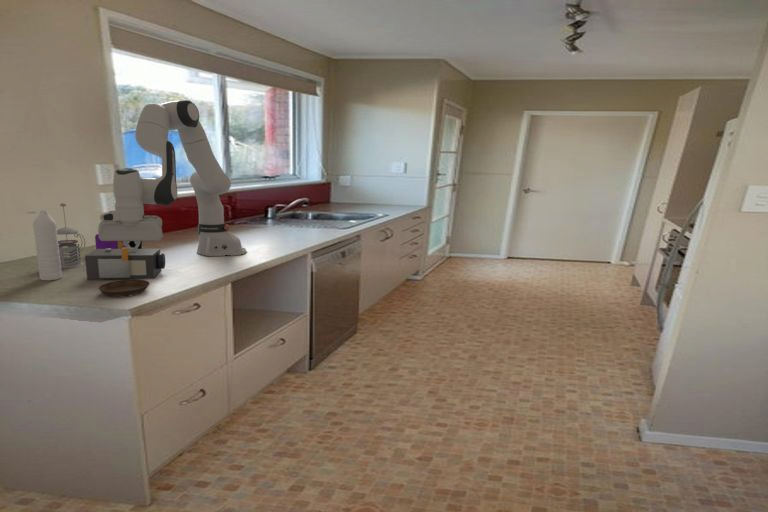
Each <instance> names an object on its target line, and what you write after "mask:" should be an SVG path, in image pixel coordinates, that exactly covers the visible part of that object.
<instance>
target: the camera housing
mask: <svg viewBox="0 0 768 512" xmlns="http://www.w3.org/2000/svg"><path fill="white" fill-rule="evenodd" d="M116 258H122V253H121V249H111V248H107V249H96V248H95V250H93V251H91V252H89V253H87V254H85V255H84V260H85V271H86V279H87V281H96V280H97V279H107V280H151V279H152V280H154V279H155V278H156V277H157V276H158V275H159V274H160V273H161V272H162V270H163V269H165V266H166V254H165V253H163V252H162V253H161V248H142V249H138V253H129V258H130V273H131V277H129V278H99V268H98V259H116ZM95 279H96V280H95Z"/></svg>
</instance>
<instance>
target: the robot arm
mask: <svg viewBox="0 0 768 512" xmlns="http://www.w3.org/2000/svg"><path fill="white" fill-rule="evenodd" d="M137 120H138V121H137V124H136V127H135V136H134V137H135V141H136V142H137V144H138V145H139V147H140V148H141V149H142V150H144V151H145V152H147V153H150V154H151V155H153V156H157V157H159V158H161V176H160V177H154V178H153V177H143V176H141V174H140V171H139V170H138V169H136V168H132V167H131V168H129V167H126V168H118V169H117V170H115V171H114V173H113V181H112V183H113V185H112V186H113V187H112V188H113V190H112V191H113V196H114V198H115V203H114V210H110V211H108V212H107V211H106V212H104V213H102V214H100V216H99V219H100V222H99V224H98V228H97V229H98V230H97V234H98V236H99V239H100V240H101V241H123V244H124V245H125V247H126V248H127V250H128V253H138V246H139V245H140V243H141V242H140V241H142V242H160V241H161V240H163V238H164V233H163V219H162V218H161V217H160V216H158V215H157V214H156V215H149V214H147V215H146V214H145V212H144V211H145V209H144V204H146V205H147V204H148V205H158V206H164V207H165V206H166V207H168V206H169V207H170V205H172V204H174V203H175V202H176V200H177V199H178V186H177V168H176V167H177V165H176V163H177V162H176V151H175V147H174V144H173V143H172V142H171V141H169V132H170V131H177V133H178V136H179V139H180V142H181V145H182V148H183V150H184V153H185V156H186V158H187V160H188V162H189V163H190V164H191V165H192V167H193V168H194V170H195V171H194V172H193V173H192V174H191V176H190V177H189V179H190V180H189V182H190V186H191V187H192V188H193V191H194V195H195V198H196V202H197V207H198V209H197V210H198V225H197V233H198V244H197V245H198V246H197V249H196V253H197V254H198V255H201V256H202V255H203V256H206V257H226V256H225V255H231V256H242V255H241V254H243V255H245V254H246V253H247V248H246V247H243V245H242V242H241V239H240V238H239V237H238V236H236V235H235V234H234V233H232V232H231V231H229V230H230V229H229V228H230V226H229V225H230V224H228V223H225V215H224V212H225V210H224V208H225V207H224V205H223V204H222V201H221V198H220V195H224V194H226V193H227V192H229V190H230V189H231V186H232V185H231V183H232V182H231V179H230V176H228V174H227V173H225V171H224V170H223V168H222V167H221V165H220V164H219V161H218V159H217V158H216V157H215V155H214V152H213V149H212V147H211V145H210V141H209V138H208V136H207V133H206V131H205V129H204V127H203V125H202V122H201V121H200V113H199V108H198V107H197V105H196V104H195V103H194V102H193V101H191V100H189V99H180V100H173V101H167V102H164V103H161V104H160V103H153V102H152V103H151V102H150V103H147V104H145V105H144V106H143V108H142V110H141V112H140V114H139V117H138V119H137ZM129 241H134V242H135V244H136V246H135V248H131V247H130V246H129V244H128V243H130V242H129ZM245 252H246V253H245ZM244 253H245V254H244Z"/></svg>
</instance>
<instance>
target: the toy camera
mask: <svg viewBox="0 0 768 512" xmlns="http://www.w3.org/2000/svg"><path fill="white" fill-rule="evenodd" d="M94 239H95V240H94V241H95V247H96V248H95V250H96V249H107V248H111V249H121V248H126V247H125V245H124V244H123V241H101V240H100V239H99V236H98V233H96V234H95V236H94Z"/></svg>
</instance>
